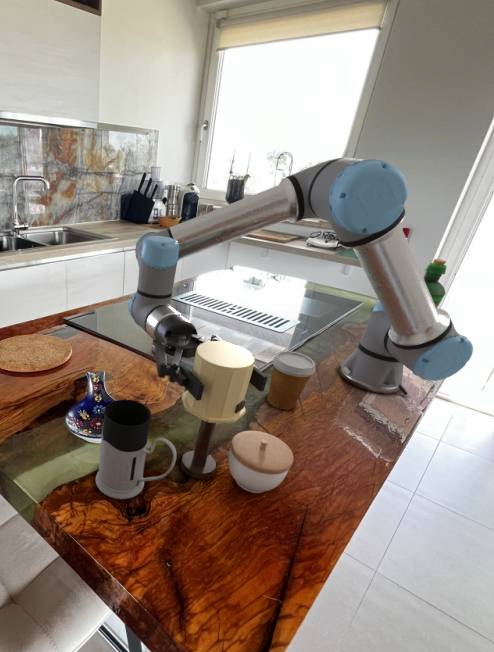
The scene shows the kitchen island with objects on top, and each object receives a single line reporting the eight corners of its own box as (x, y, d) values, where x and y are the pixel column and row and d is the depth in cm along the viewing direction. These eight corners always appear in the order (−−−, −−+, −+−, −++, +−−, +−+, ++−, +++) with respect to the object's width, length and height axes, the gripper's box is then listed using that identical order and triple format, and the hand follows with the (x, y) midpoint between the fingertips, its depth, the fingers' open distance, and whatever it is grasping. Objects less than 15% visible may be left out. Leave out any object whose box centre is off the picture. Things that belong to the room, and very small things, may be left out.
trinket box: (272, 512, 71) (289, 471, 66) (214, 485, 75) (225, 445, 70) (286, 476, 79) (302, 438, 74) (233, 454, 83) (244, 416, 78)
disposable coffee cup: (303, 416, 97) (321, 372, 91) (262, 409, 98) (276, 365, 92) (297, 396, 105) (312, 354, 99) (259, 389, 106) (272, 347, 100)
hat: (253, 406, 72) (269, 356, 67) (223, 431, 65) (238, 377, 60) (203, 382, 78) (214, 334, 72) (170, 402, 71) (180, 351, 66)
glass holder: (116, 457, 79) (124, 391, 72) (178, 496, 72) (194, 427, 64) (85, 480, 73) (89, 411, 66) (149, 525, 66) (162, 454, 58)
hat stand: (220, 468, 79) (252, 358, 67) (202, 484, 75) (232, 370, 63) (193, 451, 83) (217, 344, 70) (174, 466, 79) (197, 355, 66)
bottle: (424, 350, 137) (469, 266, 123) (393, 348, 137) (434, 263, 122) (406, 337, 146) (445, 257, 132) (376, 335, 146) (412, 254, 131)
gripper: (218, 343, 88) (285, 398, 71) (114, 353, 80) (162, 418, 63) (225, 310, 84) (299, 360, 67) (117, 317, 76) (170, 375, 59)
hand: (233, 388), depth 65 cm, fingers open, 11 cm apart
